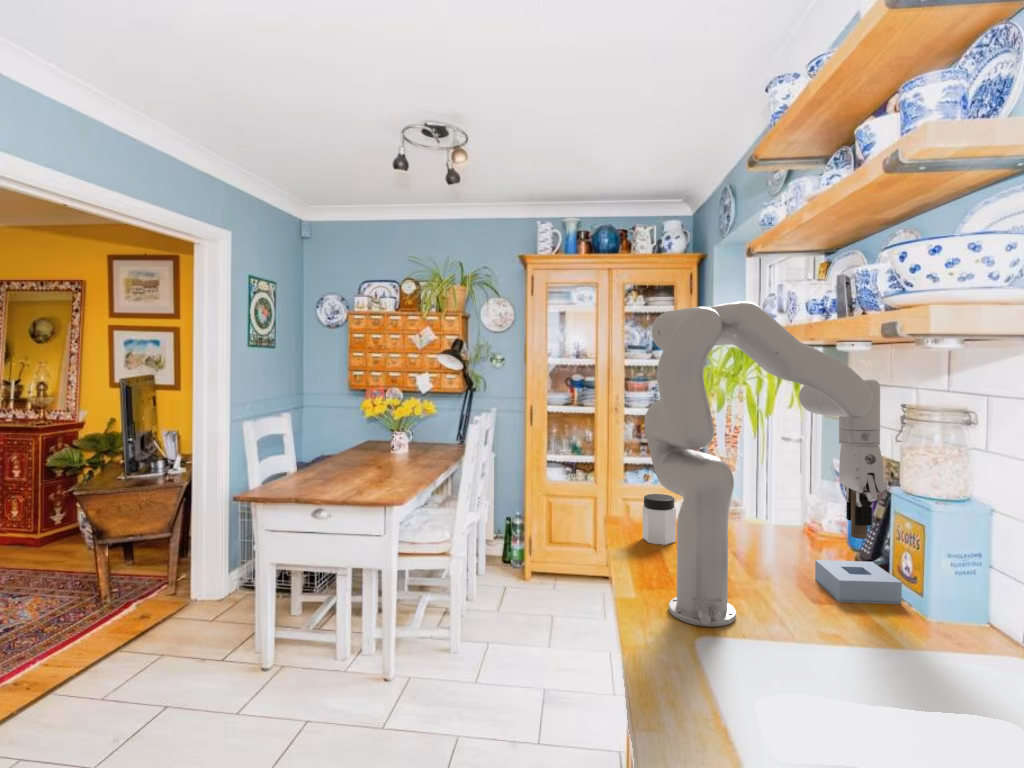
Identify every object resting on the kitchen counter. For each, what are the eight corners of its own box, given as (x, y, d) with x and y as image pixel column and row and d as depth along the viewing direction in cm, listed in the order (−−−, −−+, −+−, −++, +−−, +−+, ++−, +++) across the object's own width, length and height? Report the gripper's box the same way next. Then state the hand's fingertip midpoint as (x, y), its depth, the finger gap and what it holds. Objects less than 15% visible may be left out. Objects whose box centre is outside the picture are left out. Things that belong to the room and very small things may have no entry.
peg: (870, 538, 123) (870, 491, 122) (855, 538, 123) (855, 491, 123) (863, 534, 126) (863, 488, 125) (848, 534, 126) (848, 488, 126)
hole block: (901, 604, 118) (901, 582, 118) (838, 601, 120) (839, 580, 119) (871, 581, 130) (872, 561, 130) (815, 579, 131) (815, 560, 131)
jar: (657, 533, 167) (657, 492, 166) (681, 540, 160) (681, 497, 160) (636, 539, 161) (636, 496, 161) (660, 547, 155) (660, 502, 154)
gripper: (899, 442, 115) (898, 534, 116) (859, 431, 131) (859, 512, 132) (858, 443, 116) (858, 534, 117) (824, 432, 132) (824, 512, 133)
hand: (858, 521), depth 124 cm, fingers closed on peg, 3 cm apart
